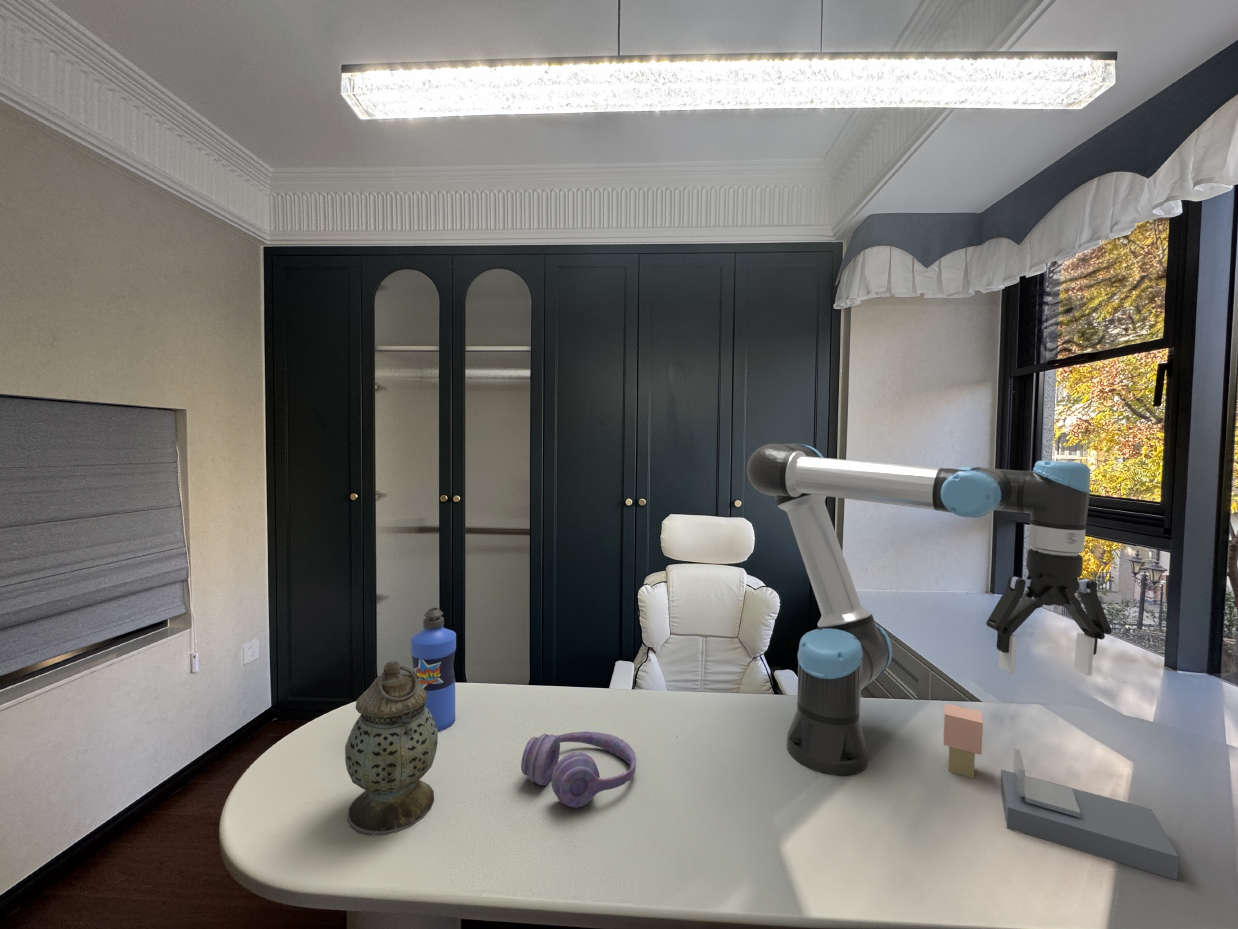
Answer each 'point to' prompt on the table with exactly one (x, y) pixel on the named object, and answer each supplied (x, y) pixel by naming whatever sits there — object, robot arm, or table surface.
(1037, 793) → the shutter
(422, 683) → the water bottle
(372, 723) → the lantern
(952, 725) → the plug
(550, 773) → the headphones
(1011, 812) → the socket block
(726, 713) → the table surface
